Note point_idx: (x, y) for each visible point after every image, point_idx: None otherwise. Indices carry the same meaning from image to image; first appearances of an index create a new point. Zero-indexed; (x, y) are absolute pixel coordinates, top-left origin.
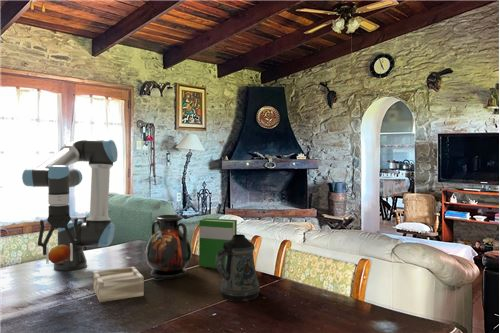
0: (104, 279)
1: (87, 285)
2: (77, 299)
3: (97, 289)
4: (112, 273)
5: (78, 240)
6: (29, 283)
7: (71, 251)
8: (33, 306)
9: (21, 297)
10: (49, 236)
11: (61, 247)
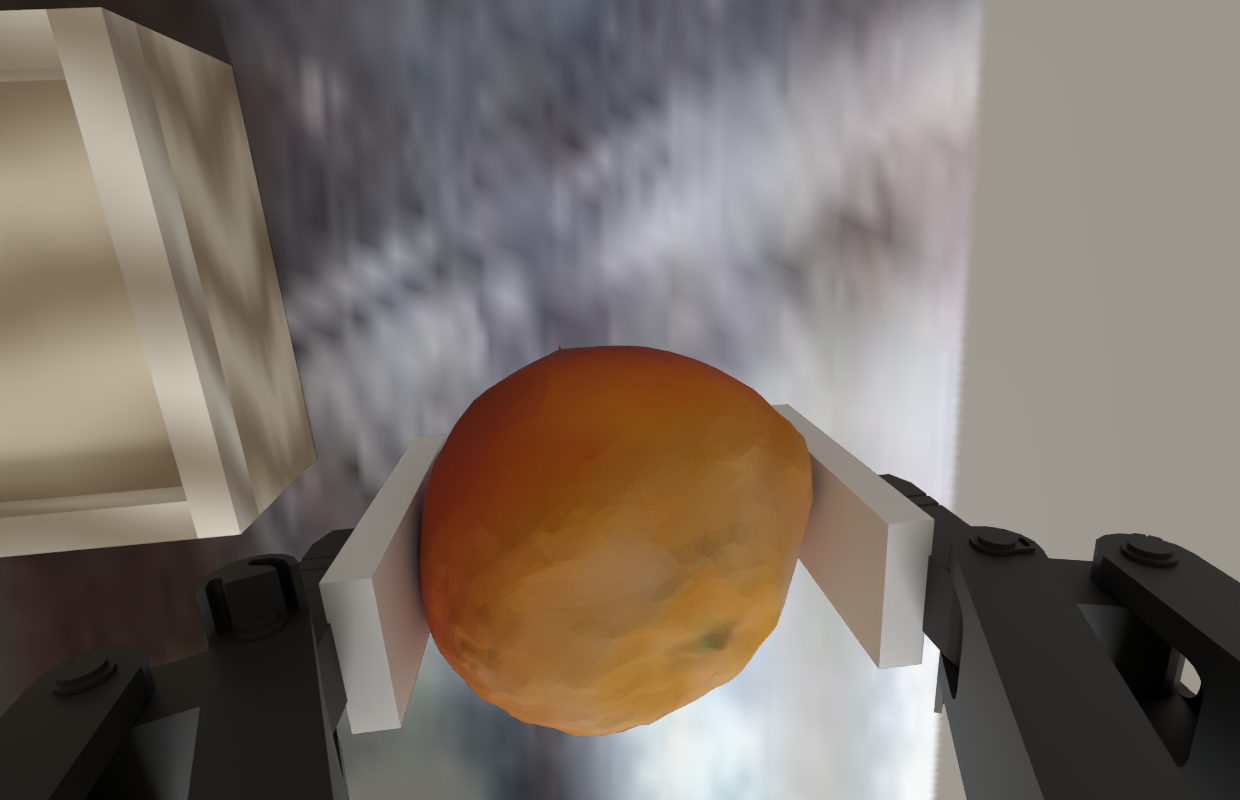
0: (111, 310)
1: None
2: (440, 235)
3: (225, 216)
4: (41, 499)
5: (79, 675)
6: (788, 723)
7: (392, 504)
8: (777, 202)
9: (849, 446)
10: (1074, 743)
11: (592, 465)
